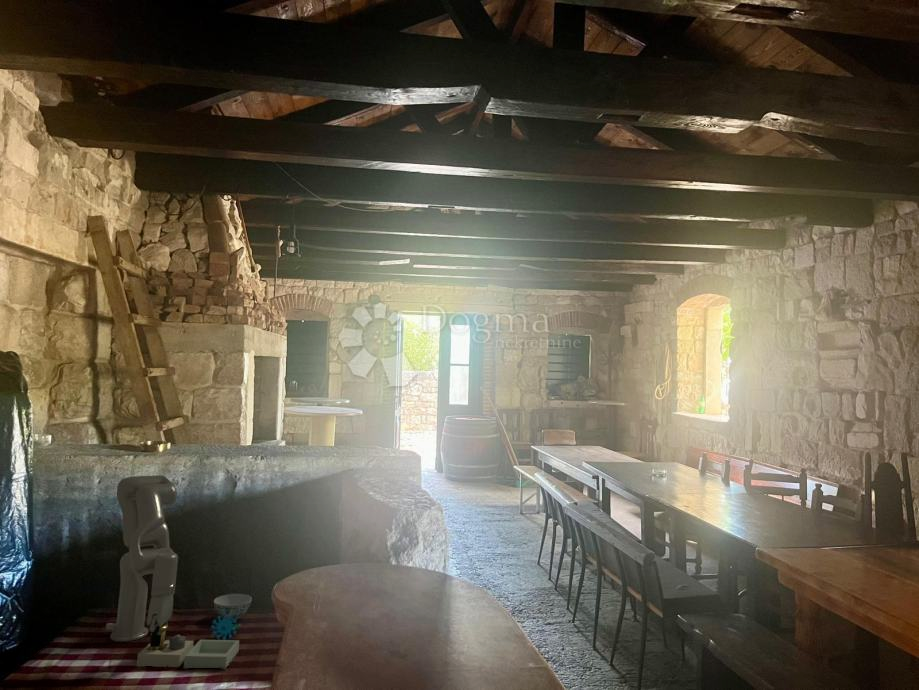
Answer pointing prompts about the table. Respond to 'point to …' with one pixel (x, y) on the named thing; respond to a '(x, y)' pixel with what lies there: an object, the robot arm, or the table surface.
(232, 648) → the tray
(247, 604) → the chinaware
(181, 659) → the beige boxy piece
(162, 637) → the pin
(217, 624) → the teal lobed piece
